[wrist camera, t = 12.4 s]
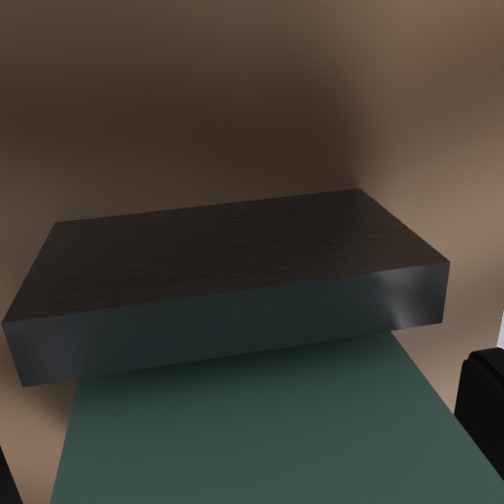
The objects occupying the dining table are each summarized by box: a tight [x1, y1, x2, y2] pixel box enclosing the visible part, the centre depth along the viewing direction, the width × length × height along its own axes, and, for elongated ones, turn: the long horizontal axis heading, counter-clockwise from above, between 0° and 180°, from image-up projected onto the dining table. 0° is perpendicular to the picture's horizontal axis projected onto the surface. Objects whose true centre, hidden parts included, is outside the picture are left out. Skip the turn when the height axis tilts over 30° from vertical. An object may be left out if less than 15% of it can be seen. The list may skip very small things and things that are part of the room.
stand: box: [0, 0, 504, 504], centre depth 12 cm, size 24×16×6 cm, turn 3°
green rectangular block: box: [50, 331, 504, 504], centre depth 9 cm, size 4×6×8 cm, turn 93°
